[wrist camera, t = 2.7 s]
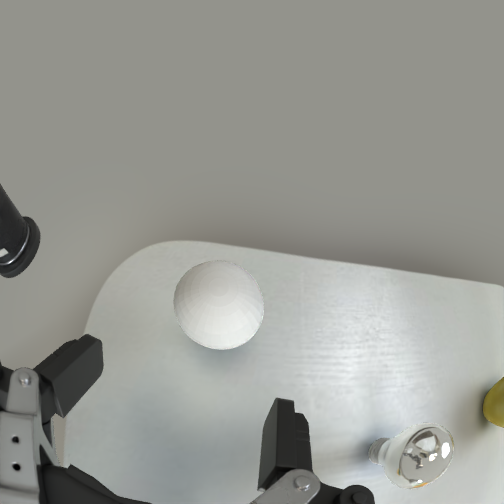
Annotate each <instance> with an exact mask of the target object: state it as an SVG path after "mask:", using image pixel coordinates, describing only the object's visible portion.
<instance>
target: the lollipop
mask: <svg viewBox="0 0 504 504" xmlns="http://www.w3.org/2000/svg"><path fill="white" fill-rule="evenodd" d="M174 310H175V314H176V318H177V321H178V323H179V325H180V326H181V328H182V330H183V331H184V332H185V333H186V334H187V336H189V337H190V338H191V339H192V340H193V341H195V342H196V343H198V344H200V345H202V346H205V347H208V348H211V349H220V350H223V349H232V348H235V347H238V346H240V345H242V344H244V343H246V342H247V341H248V340H250V339H251V338H252V337H253V336H254V335H255V333H256V332H257V330H258V329H259V327H260V325H261V322H262V318H263V313H264V300H263V296H262V292H261V290H260V288H259V286H258V284H257V282H256V281H255V279H254V278H253V276H252V275H251V274H250V273H249V272H248V271H247V270H245V269H244V268H242V267H241V266H238V265H236V264H234V263H231V262H227V261H209V262H206V263H202V264H199V265H197V266H195V267H193V268H192V269H190V270H189V271H188V272H186V273H185V275H184V276H183V277H182V278H181V279H180V281H179V283H178V285H177V287H176V290H175V294H174Z"/></svg>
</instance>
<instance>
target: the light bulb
mask: <svg viewBox="0 0 504 504" xmlns="http://www.w3.org/2000/svg"><path fill="white" fill-rule="evenodd" d="M453 454H454V441H453V438H452V436H451V434H450V432H449V431H448V430H447V429H446V428H444V427H443V426H441V425H438V424H436V423H421V424H416V425H413V426H411V427H409V428H407V429H405V430H404V431H402V432H401V433H400V434H398V435H397V436H396V437H393V438H380V439H378V440H376V441H375V442H374V443H373V444H372V445H371V447H370V449H369V453H368V455H369V459H370V460H371V461H372V462H373V463H375V464H379V465H381V466H382V467H383V468H384V472H385V475H386V476H387V478H388V479H389V481H390V482H391V483H392V484H394V485H396V486H398V487H400V488H404V489H417V488H421V487H424V486H427V485H429V484H431V483H433V482H434V481H435V480H437V479H438V478H439V477H440V476H442V474H443V473H444V472H445V471H446V470H447V468H448V467H449V465H450V463H451V461H452V458H453Z"/></svg>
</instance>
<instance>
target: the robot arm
mask: <svg viewBox="0 0 504 504" xmlns="http://www.w3.org/2000/svg"><path fill="white" fill-rule="evenodd" d="M30 237H31V229H30V226H29V225H28V223H27V222H26V221H25V220H24V219H23V217H22V216H21V215H20V213H19V211H18V210H17V209H16V207H15V206H14V204H13V203H12V201H11V200H10V198H9V197H8V195H7V194H6V192H5V190H4V189H3V187H2V186H1V184H0V266H3V267H7V266H10V265H12V264H14V263H15V262H16V261H17V260H18V259H19V258H20V257H21V256H22V255H23V253H24V252H25V250H26V248H27V246H28V244H29V241H30ZM102 371H103V351H102V342H101V340H99V339H97V338H95V337H93V336H91V335H89V334H85V335H84V336H83V337H81V338H80V339H79V340H76V339H75V340H72V341H69V342H66V343H64V344H63V345H62V346H61V347H59V349H57V350H56V351H55V352H53V354H51V355H50V356H48V357H47V358H46V359H45V360H43V361H42V362H41V363H40V364H39V365H37V366H36V367H35V368H34V369H30V368H19V369H16V370H15V371H13V370H11V369H8V368H6V367H4V366H2V365H1V362H0V504H151V503H148V502H143V501H137V500H132V499H128V498H123V497H120V496H117V495H116V494H114V493H113V492H111V491H110V490H109V489H108V488H106V487H105V486H104V485H102V484H101V483H100V482H99V481H97V480H96V479H95V478H94V477H92V476H90V475H88V474H87V473H85V472H83V471H81V470H80V469H78V468H76V467H75V466H73V465H71V464H70V466H69V467H68V469H67V468H64V467H61V466H60V463H59V460H58V457H57V454H56V448H55V438H54V426H53V418H52V416H53V415H54V414H55V413H56V414H58V415H60V416H61V417H62V418H64V417H65V416H66V415H67V414H68V412H69V411H70V410H71V409H72V408H73V407H74V405H75V404H76V403H77V402H78V401H79V400H80V399H81V397H82V396H83V395H84V394H85V393H86V392H87V391H88V389H89V388H90V387H91V386H92V385H93V384H94V383H95V382H96V380H97V379H98V378H99V377H100V376H101V374H102ZM309 441H310V436H309V425H308V422H307V420H306V418H305V417H304V415H303V414H301V413H295V409H294V401H292V400H287V399H281V398H276V399H275V400H274V403H273V405H272V407H271V409H270V412H269V414H268V416H267V418H266V420H265V424H264V427H263V435H262V447H261V458H260V469H259V479H258V489H257V491H263V492H264V493H263V494H261V495H260V496H259V497H258V498H256V499H255V500H254V501H252V502H251V503H249V504H375V501H374V496H373V494H372V492H371V491H370V490H369V489H368V488H366V487H364V486H361V485H351V486H349V487H347V488H345V489H344V490H343V489H339V488H336V487H332V486H328V485H326V484H324V483H322V482H320V480H319V479H318V477H317V476H316V475H315V474H314V473H313V469H312V458H311V446H310V442H309Z"/></svg>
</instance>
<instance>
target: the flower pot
mask: <svg viewBox="0 0 504 504" xmlns="http://www.w3.org/2000/svg"><path fill="white" fill-rule="evenodd" d="M483 413H484V416H485V418H486V419H487V420H489V421H490V422H491V423H493V424H495V425H497V426H500V427H503V428H504V377H503V378H502V379H501V380H499V381H498V382H497V383H496V384H495V385H494V386H493V387H492V388H491V389H490V391H489V392H488V393H487V395H486V396H485V399H484V403H483Z"/></svg>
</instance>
